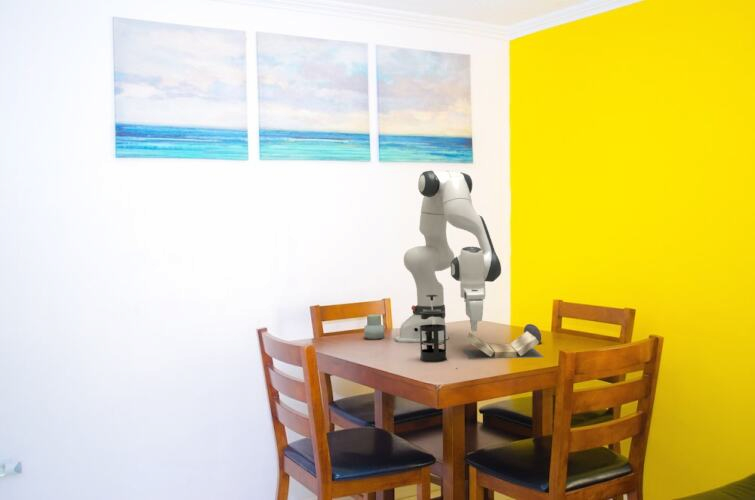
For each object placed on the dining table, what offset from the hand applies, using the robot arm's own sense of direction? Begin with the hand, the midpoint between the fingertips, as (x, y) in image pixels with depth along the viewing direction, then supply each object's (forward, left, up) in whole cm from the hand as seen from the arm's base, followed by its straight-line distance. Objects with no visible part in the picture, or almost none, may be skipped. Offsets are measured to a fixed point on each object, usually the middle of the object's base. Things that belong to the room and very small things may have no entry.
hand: (473, 330), depth 251 cm
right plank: (+18, 0, -6) cm, 19 cm away
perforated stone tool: (+26, +24, -10) cm, 37 cm away
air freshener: (-37, +47, -10) cm, 61 cm away
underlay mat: (+10, 0, -9) cm, 14 cm away
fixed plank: (+10, 0, -8) cm, 13 cm away
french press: (-15, -4, -9) cm, 18 cm away
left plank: (+1, 0, -6) cm, 6 cm away
